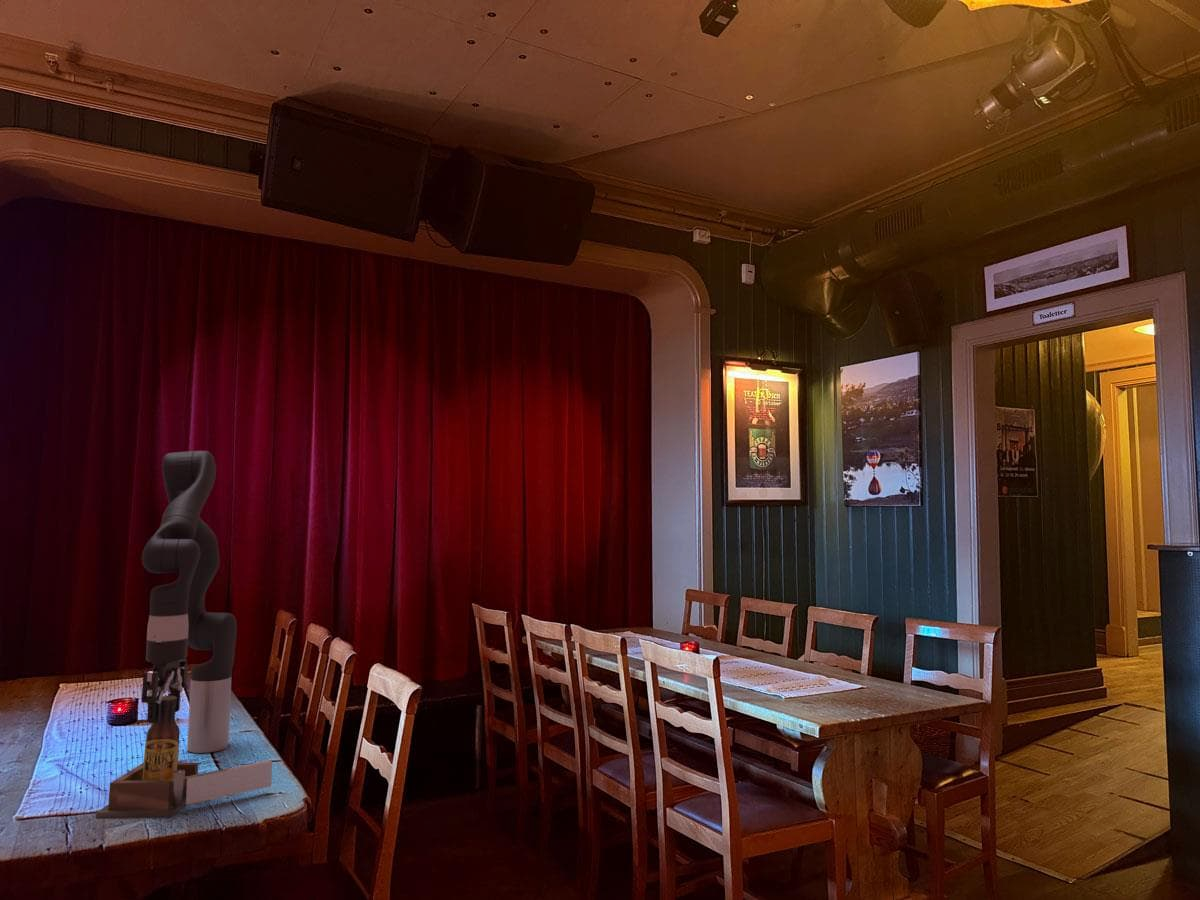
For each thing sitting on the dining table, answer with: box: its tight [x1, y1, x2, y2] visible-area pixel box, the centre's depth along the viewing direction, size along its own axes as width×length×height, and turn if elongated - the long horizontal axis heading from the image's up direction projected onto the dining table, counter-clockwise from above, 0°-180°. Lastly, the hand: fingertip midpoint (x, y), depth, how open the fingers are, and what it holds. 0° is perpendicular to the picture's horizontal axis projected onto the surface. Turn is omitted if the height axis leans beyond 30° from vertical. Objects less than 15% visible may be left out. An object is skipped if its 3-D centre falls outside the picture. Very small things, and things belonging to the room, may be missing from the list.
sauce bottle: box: [142, 695, 181, 793], centre depth 167 cm, size 6×6×20 cm
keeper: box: [172, 759, 273, 807], centre depth 167 cm, size 19×2×6 cm, turn 133°
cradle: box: [95, 762, 199, 819], centre depth 166 cm, size 16×14×6 cm
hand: (163, 717), depth 167 cm, fingers open, 8 cm apart
